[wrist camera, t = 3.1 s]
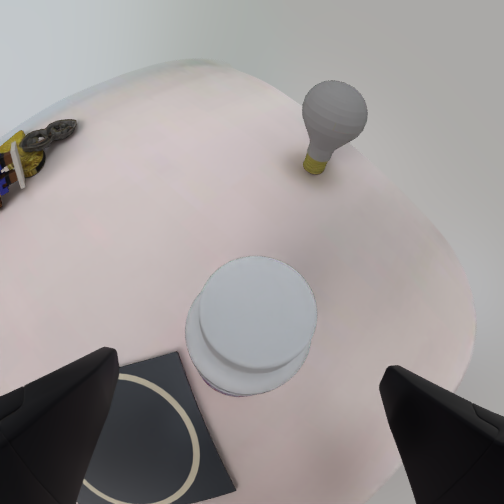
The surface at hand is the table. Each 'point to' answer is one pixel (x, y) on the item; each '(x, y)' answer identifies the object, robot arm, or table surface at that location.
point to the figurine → (4, 179)
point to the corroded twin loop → (47, 135)
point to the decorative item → (25, 156)
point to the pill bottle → (251, 326)
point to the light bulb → (331, 121)
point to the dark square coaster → (154, 442)
